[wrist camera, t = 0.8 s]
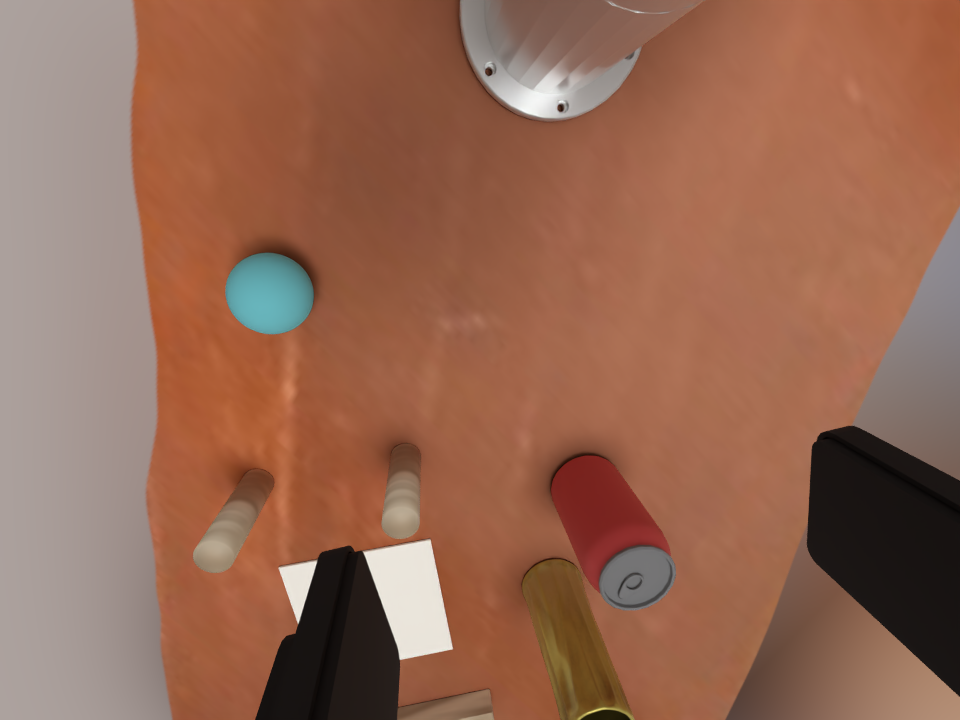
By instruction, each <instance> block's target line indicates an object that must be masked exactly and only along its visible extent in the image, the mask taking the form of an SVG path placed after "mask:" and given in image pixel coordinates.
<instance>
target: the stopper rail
mask: <svg viewBox="0 0 960 720" xmlns="http://www.w3.org/2000/svg"><path fill="white" fill-rule="evenodd" d="M397 720H494V715H493V707H492V700H491V695H490V689H486V690H482V691H477V692H472V693H467V694H462V695H457V696H453V697H448V698H443V699H438V700H433V701H428V702H424V703H419V704H414V705H409V706H404V707H399V708H398V712H397Z"/></svg>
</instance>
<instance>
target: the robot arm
mask: <svg viewBox="0 0 960 720" xmlns="http://www.w3.org/2000/svg"><path fill="white" fill-rule="evenodd" d="M703 1H705V0H460V13H459V19H460V27H461V35H462V41H463V44H464V47H465V51H466V54H467V58H468V60H469V62H470V64H471V66H472V68H473V70H474V73H475V75H476V77H477V78H478V79H479V81H480V82H481V84H482V85H483V86H484V88H485V89H486V90H487V92H488V93H489V94H490V95H491V96H492V97H493V98H494V99H496V100H497V101H498V102H499V103H500V104H501V105H502V106H504V107H506V108H507V109H509V110H510V111H512V112H514V113H515V114H517V115H520V116H523V117H526V118H528V119H531V120H537V121H545V122H554V121H565V120H568V119H572V118H575V117H578V116H581V115H583V114H585V113H587V112H589V111H591V110H593V109H594V108H596V107H597V106H599V105H600V104H602V103H603V102H605V101H606V100H607V99H608V98H609V97H610V96H611V95H612V94H613V93H614V92H615V91H616V90H617V89H618V88H620V86H621V85H622V83H623V82H624V81H625V79H626V78H627V76H628V75H629V74H630V72H631V71H632V69H633V67H634V65H635V63H636V61H637V59H638V57H639V54H640V51H641V48H642V45H644V44H645V43H647V42H648V41H649V40H651V39H652V38H654V37H655V36H656V35H658V34H659V33H660V32H662V31H663V30H665V29H666V28H667V27H669V26H670V25H672V24H673V23H674V22H676V21H677V20H678V19H680V18H681V17H683V16H684V15H685V14H687V13H688V12H690V11H691V10H692V9H694V8H695V7H696V6H698V5H699V4H701V3H702V2H703ZM625 58H626V59H625ZM486 69H490V70H491V71H492V75H491V76H487V75H486V74H485V70H486ZM558 105H561V106H562V108H563V110H562V112H559V111H558V110H557V106H558ZM807 547H808V551H809V553H810V555H811V557H812V559H813V560H814V561H815V562H816V564H817V565H819V566H820V567H821V568H822V569H823V570H824V571H825V572H826V573H827V574H828V575H829V576H830V577H831V578H832V579H834V580H835V581H836V582H837V583H838V584H839V585H840V586H841V587H842V588H843V589H844V590H845V591H847V592H848V593H849V594H850V595H851V596H852V597H853V598H854V599H855V600H856V601H857V602H858V603H859V604H861V605H862V606H863V607H864V608H865V609H866V610H867V611H868V612H869V613H870V614H871V615H872V616H873V617H874V618H876V619H877V620H878V621H879V622H880V623H881V624H882V625H883V626H884V627H885V628H886V629H887V630H888V631H889V632H891V633H892V634H893V635H894V636H895V637H896V638H897V639H898V640H899V641H900V642H901V643H903V645H905V646H906V647H907V648H908V649H909V650H910V651H911V652H912V653H913V654H914V655H915V656H916V657H918V658H919V659H920V660H921V661H922V662H923V663H924V664H925V665H926V666H927V667H928V668H929V669H931V670H932V671H933V672H934V673H935V674H936V675H937V676H938V677H939V678H940V679H941V680H942V681H943V682H944V683H946V684H947V685H948V686H949V687H950V688H951V689H952V690H953V691H954V692H955V693H956V694H958V695H959V696H960V481H959V480H957V479H955V478H954V477H951V476H950V475H948V474H946V473H944V472H942V471H940V470H938V469H937V468H935V467H933V466H931V465H929V464H927V463H925V462H923V461H921V460H919V459H917V458H916V457H914V456H911V455H910V454H908V453H906V452H904V451H902V450H900V449H898V448H897V447H894V446H893V445H891V444H889V443H887V442H885V441H883V440H881V439H879V438H877V437H875V436H874V435H872V434H870V433H868V432H866V431H864V430H862V429H860V428H858V427H855V426H846V427H842V428H838V429H834V430H830V431H826V432H823V433H821V434H820V435H819V436H818V438H817V441H816V442H814V444H813V446H812V456H811V475H810V495H809V514H808V533H807ZM399 676H400V658H399V652H398V647H397V644H396V641H395V638H394V636H393V633H392V630H391V627H390V624H389V622H388V619H387V616H386V613H385V611H384V608H383V605H382V602H381V599H380V597H379V594H378V591H377V588H376V585H375V583H374V580H373V577H372V574H371V571H370V569H369V566H368V563H367V560H366V557H365V555H364V553H363V552H362V551H357V552H355V551H354V549H353V548H352V547H351V546H345V547H341V548H337V549H333V550H329V551H324V552H322V553H321V554H320V555H319V557H318V560H317V564H316V567H315V570H314V574H313V577H312V580H311V584H310V587H309V590H308V594H307V597H306V600H305V604H304V607H303V610H302V614H301V617H300V620H299V624H298V627H297V630H296V634H292V635H288V636H286V637H285V638H284V639H283V640H282V642H281V645H280V647H279V649H278V652H277V655H276V658H275V661H274V664H273V667H272V670H271V673H270V676H269V679H268V682H267V685H266V688H265V691H264V695H263V698H262V701H261V704H260V707H259V710H258V713H257V716H256V719H255V720H397V712H398V694H399Z"/></svg>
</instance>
